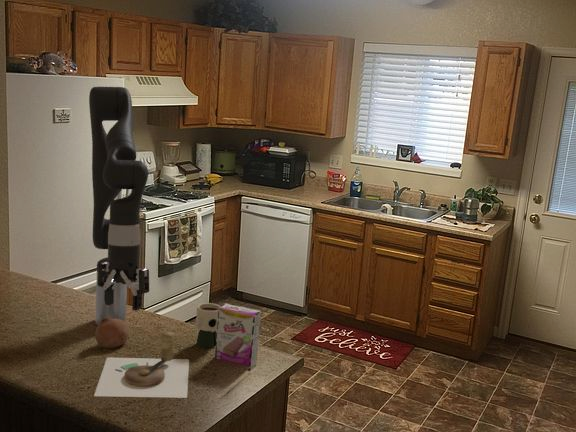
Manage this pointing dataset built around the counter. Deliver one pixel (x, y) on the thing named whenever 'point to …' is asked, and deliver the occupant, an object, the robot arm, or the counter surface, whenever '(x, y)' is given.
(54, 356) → the counter surface
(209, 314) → the character mug
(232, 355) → the candy bar box
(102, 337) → the onion
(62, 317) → the counter surface
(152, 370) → the tuning dial
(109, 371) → the dial panel
